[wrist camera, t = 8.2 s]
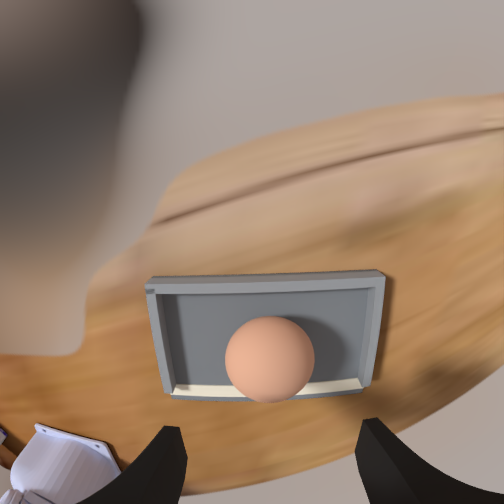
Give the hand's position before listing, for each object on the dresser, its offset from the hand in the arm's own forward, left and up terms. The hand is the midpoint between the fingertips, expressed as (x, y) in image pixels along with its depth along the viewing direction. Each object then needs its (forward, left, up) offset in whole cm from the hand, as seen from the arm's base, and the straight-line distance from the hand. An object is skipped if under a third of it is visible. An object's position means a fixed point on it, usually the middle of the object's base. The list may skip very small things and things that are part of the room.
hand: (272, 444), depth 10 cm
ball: (0, 0, -6) cm, 7 cm away
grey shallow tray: (0, 0, -9) cm, 9 cm away
